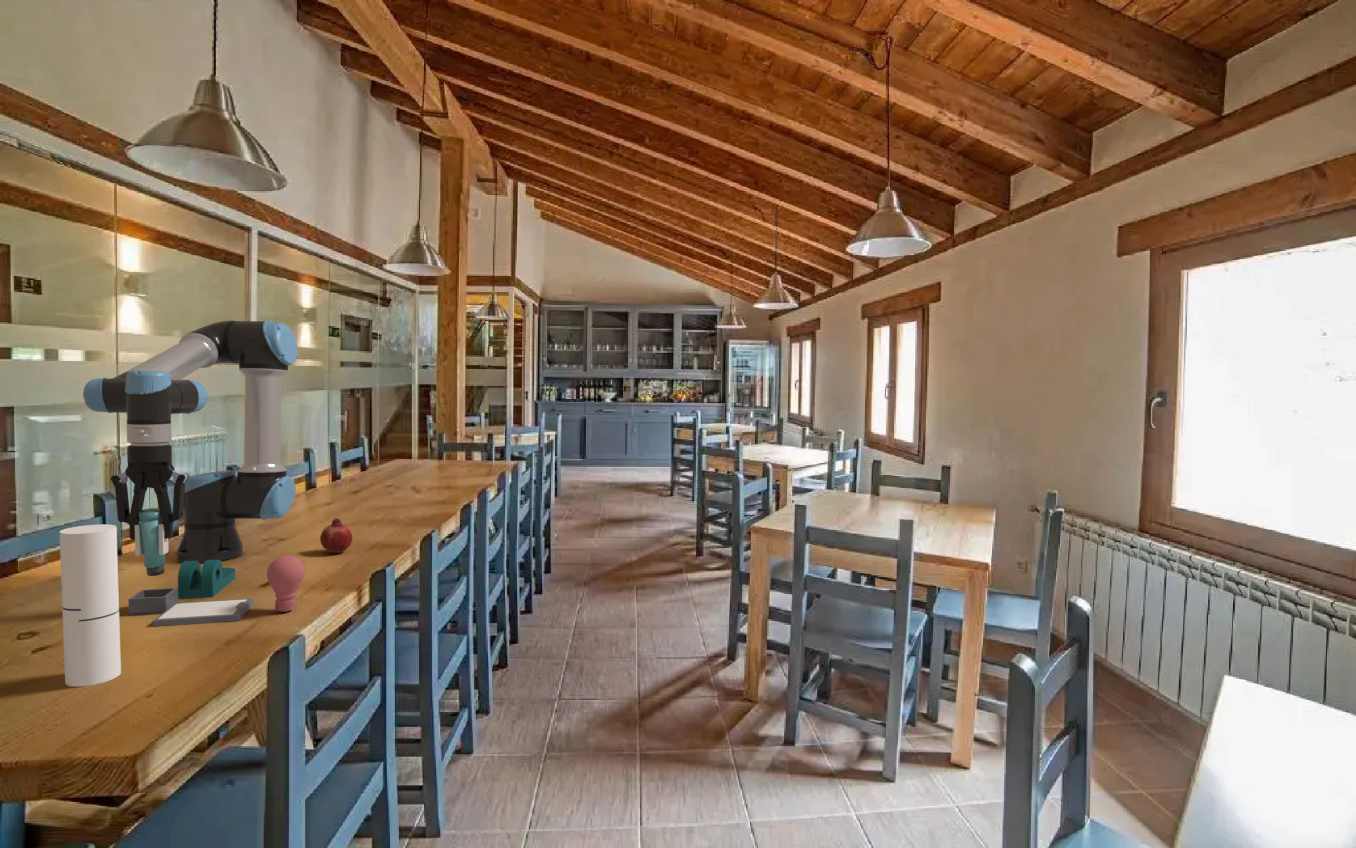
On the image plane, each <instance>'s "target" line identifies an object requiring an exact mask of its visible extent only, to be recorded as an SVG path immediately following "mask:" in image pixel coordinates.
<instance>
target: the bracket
mask: <svg viewBox="0 0 1356 848" xmlns="http://www.w3.org/2000/svg"><path fill="white" fill-rule="evenodd" d="M235 579H236V569H235V568H233V567H223V563H222V560H206V561H205V562H204V563H203V565H202V567H201V564H200V563H199V562H198V561H184V562H181V563H180V566H179V569H178V573H177V588H178V600H186V599H187V600H188V599H192V600H193V599H204V598H206V599H207V598H214V597H215V596H216V595H217V594H219V593H220V592H221V591H222V590H224V589H225V588H226V587H227V586H229V584H231V583H232V582H233V581H235Z"/></svg>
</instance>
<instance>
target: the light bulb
mask: <svg viewBox="0 0 1356 848" xmlns="http://www.w3.org/2000/svg"><path fill="white" fill-rule="evenodd" d="M267 567H268V568H267V570H266V579H267V581H268V583H269V585H270V587H271V588H272V589H273V591H274V592H275V601H274V603H275V604H274V609H275V611H277V612H285V613H286V612H288V611H291V610H293V609H295V603H296V597H297V595H298V589H299V588H300V586H301V584H302V582H303V580H304V577H305V574H306V568H305V565H304V563H303V562H302V560H301V559H299V558H298V557H295V556H293V555H282V556H280V557H277V558H275V559H274V560H273V561H272V562H271V563H270V564H269V566H267Z"/></svg>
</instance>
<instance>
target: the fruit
mask: <svg viewBox="0 0 1356 848" xmlns="http://www.w3.org/2000/svg"><path fill="white" fill-rule="evenodd" d="M319 539H320V544H321V546H322V548H323V549H325V550H326V551H327V552H330V553H334V554H339V553H342V552H345V551H346V550H348V548H349V547H351V545H352V542H353V533H352V531H351V529H349V527H347V526H346V525H344V524H343V523H342V521H341V519H340V518H334V519H332V522H331V524H330V525H328V526H326V527H325V528H324V529H323V530H322V532H321V534H320V537H319Z"/></svg>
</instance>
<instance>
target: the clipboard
mask: <svg viewBox="0 0 1356 848" xmlns="http://www.w3.org/2000/svg"><path fill="white" fill-rule="evenodd" d="M254 605H255V598H239V599H224V600H223V599H222V600H209V601H205V600H204V601H194V602H193V601H191V602H178V603H175V604H174V605H172V606H171V607H170V608H168V609H167V610H166V611H165V612H163V613H162V614H159V615H158V616H157V617H155V619H154V620H152V626H153V627H165V626H180V625H194V624H195V625H196V624H209V623H210V624H211V623H221V622H223V623H224V622H225V623H226V622H237V621H240V620H241V619H242V618H243V617H244V616H245V615H246V614H247V612H248V611H249V610H250V609H251V608H252V607H253V606H254Z"/></svg>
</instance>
